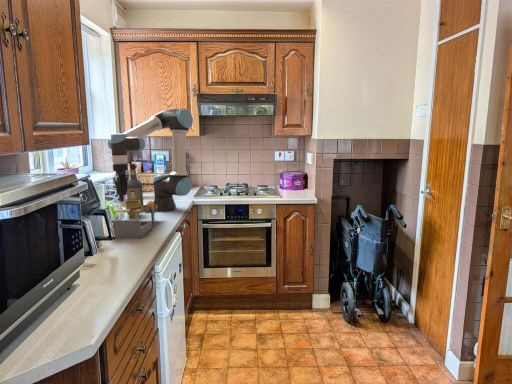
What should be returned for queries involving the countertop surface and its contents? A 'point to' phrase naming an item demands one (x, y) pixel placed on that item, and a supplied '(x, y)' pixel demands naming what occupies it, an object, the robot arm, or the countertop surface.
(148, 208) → the wooden chute
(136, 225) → the bin
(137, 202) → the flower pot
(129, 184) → the liquor
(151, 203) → the ball
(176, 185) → the robot arm
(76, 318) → the countertop surface
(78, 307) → the countertop surface
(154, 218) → the stand
